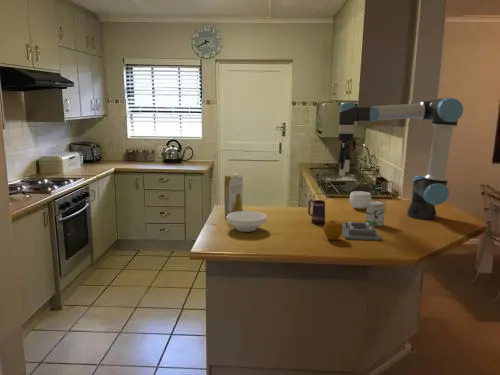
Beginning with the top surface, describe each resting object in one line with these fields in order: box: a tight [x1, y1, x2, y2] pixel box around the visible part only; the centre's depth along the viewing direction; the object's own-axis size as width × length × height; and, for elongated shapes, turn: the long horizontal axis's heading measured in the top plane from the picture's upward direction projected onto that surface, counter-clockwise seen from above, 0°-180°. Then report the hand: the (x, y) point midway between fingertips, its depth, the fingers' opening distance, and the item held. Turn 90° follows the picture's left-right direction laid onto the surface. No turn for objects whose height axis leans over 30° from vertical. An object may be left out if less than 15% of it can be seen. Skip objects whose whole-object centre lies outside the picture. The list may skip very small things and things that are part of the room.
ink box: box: [365, 200, 386, 228], centre depth 207 cm, size 9×5×12 cm, turn 119°
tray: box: [342, 221, 382, 242], centre depth 193 cm, size 16×20×4 cm
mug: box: [307, 198, 326, 225], centre depth 211 cm, size 10×7×12 cm
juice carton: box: [223, 173, 244, 216], centre depth 221 cm, size 9×8×24 cm
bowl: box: [225, 210, 267, 233], centre depth 197 cm, size 20×20×7 cm
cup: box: [349, 190, 372, 211], centre depth 241 cm, size 12×12×10 cm
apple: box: [323, 220, 343, 241], centre depth 183 cm, size 9×8×9 cm
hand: (344, 173), depth 212 cm, fingers open, 13 cm apart
